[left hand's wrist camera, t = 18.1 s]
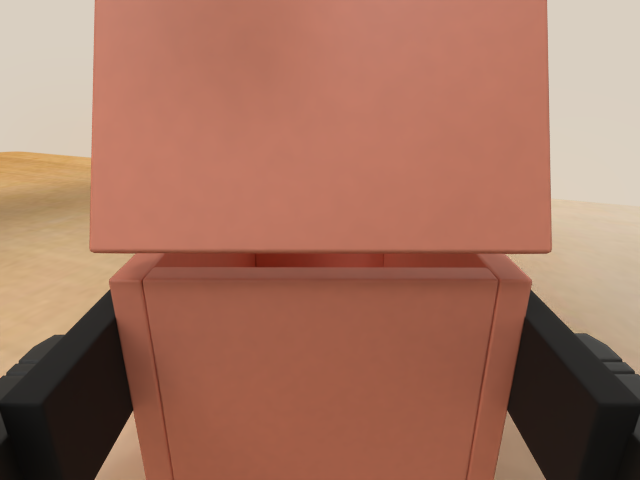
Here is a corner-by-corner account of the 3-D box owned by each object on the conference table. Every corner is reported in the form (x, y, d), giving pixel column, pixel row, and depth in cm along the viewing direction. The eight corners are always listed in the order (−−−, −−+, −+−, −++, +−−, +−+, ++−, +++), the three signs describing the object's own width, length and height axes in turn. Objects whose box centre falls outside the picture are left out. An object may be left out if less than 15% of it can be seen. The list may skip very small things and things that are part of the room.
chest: (247, 292, 29) (238, 152, 25) (391, 292, 29) (400, 153, 25) (160, 557, 13) (107, 280, 10) (479, 557, 13) (534, 280, 10)
